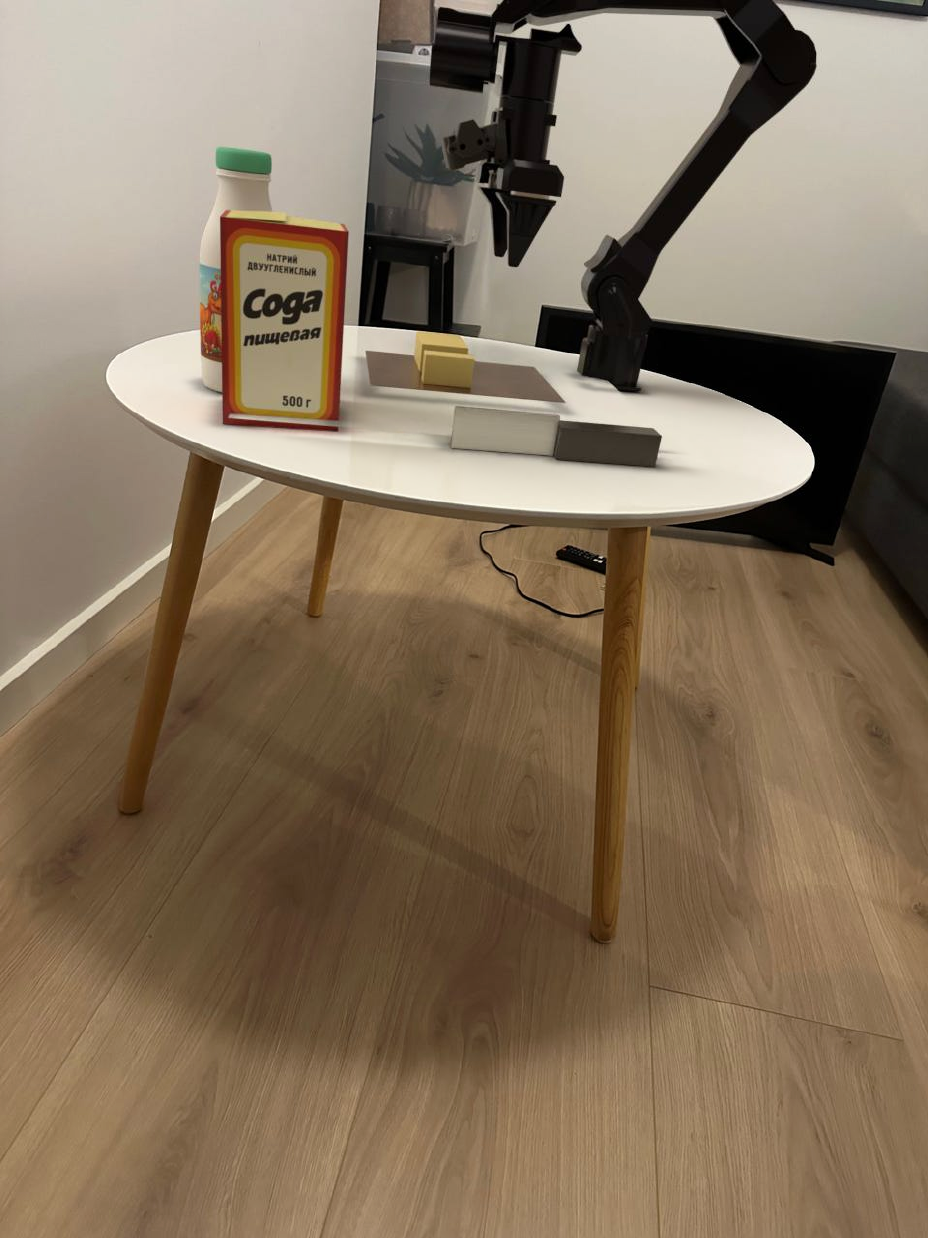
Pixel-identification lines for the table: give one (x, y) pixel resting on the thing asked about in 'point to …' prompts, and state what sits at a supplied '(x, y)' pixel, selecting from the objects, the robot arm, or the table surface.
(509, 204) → the robot arm
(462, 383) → the butter slice
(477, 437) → the knife
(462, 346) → the butter
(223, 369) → the baking soda box
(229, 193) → the milk bottle
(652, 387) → the table surface
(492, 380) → the board
